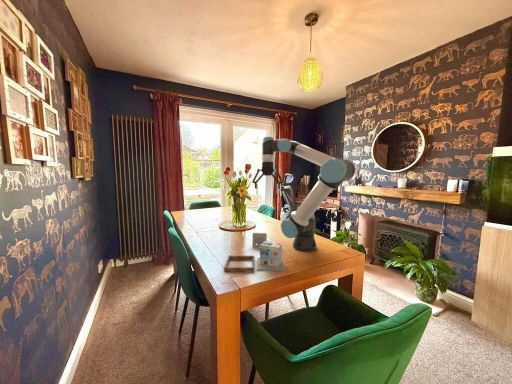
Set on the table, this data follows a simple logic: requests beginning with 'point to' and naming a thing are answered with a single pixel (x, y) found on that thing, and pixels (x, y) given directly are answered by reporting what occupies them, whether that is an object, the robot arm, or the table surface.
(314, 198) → the robot arm
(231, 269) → the walnut collar
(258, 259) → the rubber mat
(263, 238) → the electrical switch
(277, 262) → the light bulb box
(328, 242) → the table surface
